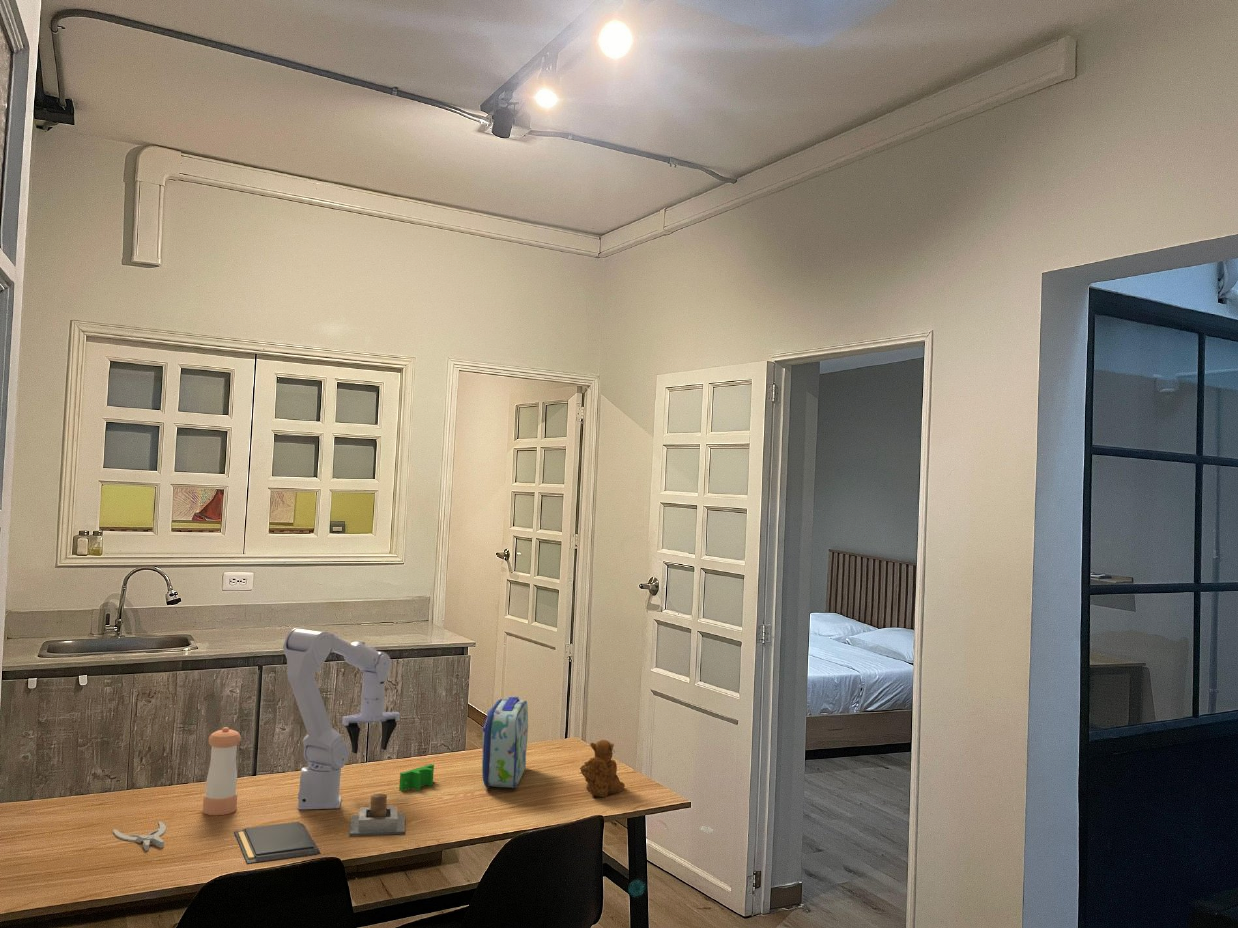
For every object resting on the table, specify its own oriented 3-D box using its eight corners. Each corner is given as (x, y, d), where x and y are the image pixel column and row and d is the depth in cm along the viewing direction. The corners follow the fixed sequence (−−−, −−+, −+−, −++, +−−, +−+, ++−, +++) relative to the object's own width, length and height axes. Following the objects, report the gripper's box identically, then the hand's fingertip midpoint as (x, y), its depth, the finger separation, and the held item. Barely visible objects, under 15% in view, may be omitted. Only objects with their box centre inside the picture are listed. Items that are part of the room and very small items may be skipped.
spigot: (369, 825, 204) (370, 798, 204) (369, 820, 207) (370, 793, 207) (385, 824, 204) (386, 798, 205) (386, 819, 208) (387, 793, 208)
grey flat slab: (322, 848, 188) (243, 858, 180) (321, 857, 188) (243, 868, 180) (305, 817, 205) (233, 825, 198) (305, 825, 205) (233, 834, 198)
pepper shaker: (195, 810, 209) (201, 727, 210) (222, 802, 215) (228, 721, 216) (216, 817, 205) (222, 732, 206) (243, 808, 212) (249, 726, 213)
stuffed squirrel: (626, 787, 243) (628, 738, 244) (610, 803, 230) (613, 751, 230) (591, 782, 246) (593, 734, 247) (574, 797, 233) (576, 746, 233)
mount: (349, 836, 198) (350, 823, 198) (351, 817, 210) (352, 805, 210) (404, 833, 201) (405, 821, 201) (404, 815, 213) (404, 803, 213)
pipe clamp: (409, 794, 229) (410, 775, 230) (399, 791, 231) (400, 772, 232) (440, 783, 239) (441, 766, 239) (429, 780, 241) (430, 763, 241)
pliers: (162, 817, 201) (180, 838, 189) (161, 824, 200) (180, 845, 189) (112, 825, 194) (128, 847, 183) (111, 832, 194) (128, 855, 183)
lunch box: (491, 763, 259) (495, 690, 260) (528, 765, 259) (532, 692, 260) (476, 792, 233) (480, 710, 234) (517, 794, 233) (522, 713, 234)
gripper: (350, 703, 226) (346, 757, 225) (405, 698, 234) (401, 751, 233) (341, 697, 232) (337, 750, 231) (395, 693, 240) (392, 744, 239)
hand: (369, 750), depth 232 cm, fingers open, 7 cm apart
